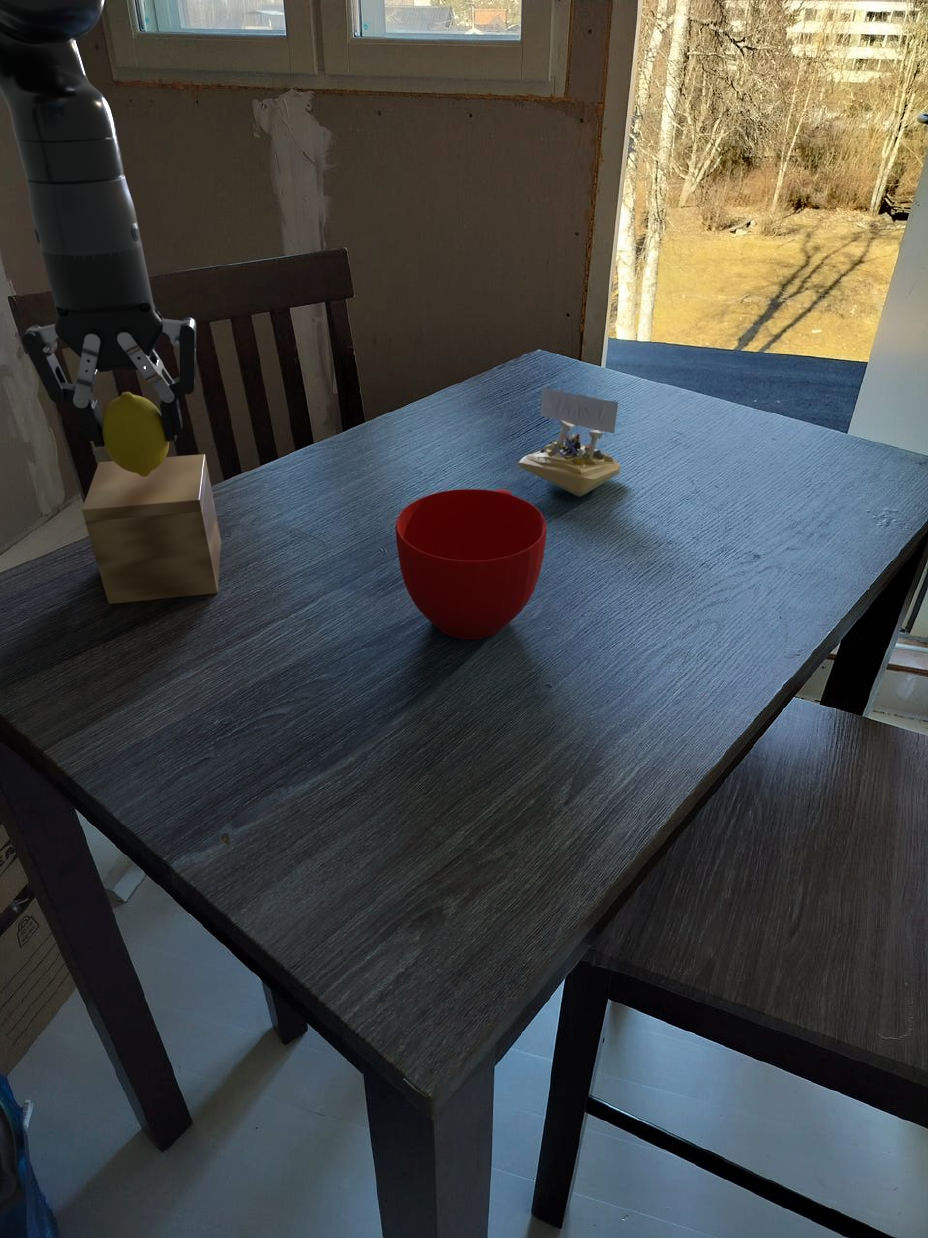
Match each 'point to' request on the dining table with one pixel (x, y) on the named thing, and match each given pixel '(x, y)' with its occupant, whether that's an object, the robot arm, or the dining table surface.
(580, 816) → the dining table surface
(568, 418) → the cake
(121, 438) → the lemon
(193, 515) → the wooden cube
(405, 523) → the ceramic cup
